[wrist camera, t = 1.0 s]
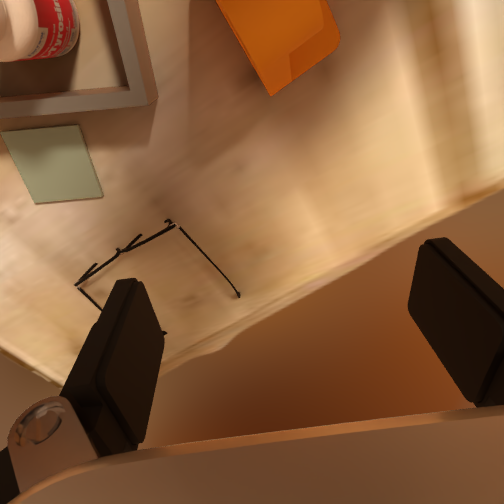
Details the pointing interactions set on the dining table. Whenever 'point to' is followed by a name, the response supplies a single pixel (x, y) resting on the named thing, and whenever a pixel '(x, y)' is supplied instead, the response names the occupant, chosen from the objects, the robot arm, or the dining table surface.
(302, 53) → the bracket
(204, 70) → the dining table surface
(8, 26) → the pill bottle
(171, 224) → the eyeglasses
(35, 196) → the mat
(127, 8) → the case
